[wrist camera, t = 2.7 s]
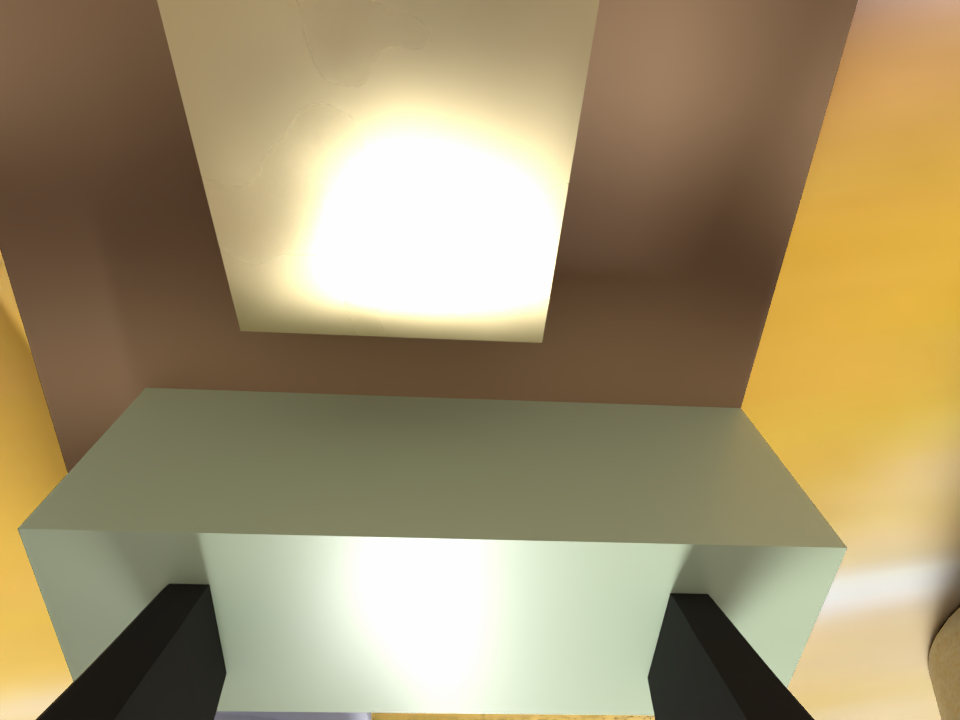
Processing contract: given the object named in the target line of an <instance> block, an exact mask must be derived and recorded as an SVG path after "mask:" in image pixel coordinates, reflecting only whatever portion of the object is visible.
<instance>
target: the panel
mask: <svg viewBox="0 0 960 720" xmlns="http://www.w3.org/2000/svg"><path fill="white" fill-rule="evenodd" d="M857 1H858V0H600V1H599V7H598V13H597V19H596V24H595V30H594V36H593V42H592V48H591V54H590V60H589V66H588V72H587V78H586V84H585V90H584V96H583V102H582V108H581V114H580V120H579V126H578V132H577V138H576V144H575V150H574V155H573V161H572V167H571V173H570V179H569V185H568V191H567V197H566V203H565V209H564V215H563V221H562V227H561V233H560V239H559V245H558V251H557V257H556V263H555V269H554V275H553V281H552V286H551V292H550V298H549V304H548V310H547V316H546V322H545V328H544V334H543V340H542V343H532V342H506V341H481V340H455V339H429V338H404V337H378V336H353V335H327V334H301V333H276V332H250V331H240V327H239V323H238V319H237V315H236V311H235V307H234V303H233V299H232V295H231V291H230V287H229V283H228V279H227V275H226V271H225V267H224V263H223V259H222V255H221V251H220V248H219V244H218V240H217V236H216V232H215V228H214V224H213V220H212V216H211V212H210V208H209V204H208V200H207V196H206V192H205V188H204V184H203V180H202V176H201V172H200V168H199V164H198V161H197V157H196V153H195V149H194V145H193V141H192V137H191V133H190V129H189V125H188V121H187V117H186V113H185V109H184V105H183V101H182V97H181V93H180V89H179V85H178V81H177V77H176V73H175V70H174V66H173V62H172V58H171V54H170V50H169V46H168V42H167V38H166V34H165V30H164V26H163V22H162V18H161V14H160V10H159V6H158V2H157V0H0V250H1V253H2V256H3V260H4V263H5V266H6V269H7V273H8V276H9V279H10V283H11V286H12V289H13V293H14V296H15V299H16V303H17V306H18V309H19V313H20V316H21V319H22V323H23V326H24V329H25V332H26V336H27V339H28V342H29V346H30V349H31V352H32V356H33V359H34V362H35V366H36V369H37V372H38V376H39V379H40V382H41V386H42V389H43V392H44V395H45V399H46V402H47V405H48V409H49V412H50V415H51V419H52V422H53V425H54V429H55V432H56V435H57V439H58V442H59V445H60V449H61V452H62V455H63V458H64V462H65V465H66V468H67V472H68V473H69V472H70V471H71V470H72V468H73V467H74V466H75V465H76V464H77V463H78V462H79V461H80V460H81V459H82V457H83V456H84V455H85V454H86V453H87V452H88V451H89V450H90V449H91V448H92V446H93V445H94V444H95V443H96V442H97V441H98V440H99V439H100V438H101V437H102V435H103V434H104V433H105V432H106V431H107V430H108V429H109V428H110V427H111V426H112V424H113V423H114V422H115V421H116V420H117V419H118V418H119V417H120V416H121V414H122V413H123V412H124V411H125V410H126V409H127V408H128V407H129V406H130V405H131V403H132V402H133V401H134V400H135V399H136V398H137V397H138V396H139V395H140V394H141V392H142V391H143V390H144V389H145V388H170V389H199V390H228V391H258V392H287V393H316V394H345V395H374V396H403V397H432V398H461V399H491V400H520V401H549V402H578V403H607V404H636V405H665V406H694V407H724V408H741V405H742V402H743V398H744V395H745V391H746V388H747V384H748V381H749V377H750V374H751V370H752V367H753V363H754V360H755V356H756V353H757V349H758V346H759V342H760V339H761V335H762V332H763V329H764V325H765V322H766V318H767V315H768V311H769V308H770V304H771V301H772V297H773V294H774V290H775V287H776V283H777V280H778V276H779V273H780V269H781V266H782V262H783V259H784V255H785V252H786V248H787V245H788V241H789V238H790V234H791V231H792V228H793V224H794V221H795V217H796V214H797V210H798V207H799V203H800V200H801V196H802V193H803V189H804V186H805V182H806V179H807V175H808V172H809V168H810V165H811V161H812V158H813V154H814V151H815V147H816V144H817V140H818V137H819V134H820V130H821V127H822V123H823V120H824V116H825V113H826V109H827V106H828V102H829V99H830V95H831V92H832V88H833V85H834V81H835V78H836V74H837V71H838V67H839V64H840V60H841V57H842V53H843V50H844V46H845V43H846V39H847V36H848V33H849V29H850V26H851V22H852V19H853V15H854V12H855V8H856V5H857Z"/></svg>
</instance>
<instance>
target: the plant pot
mask: <svg viewBox="0 0 960 720" xmlns="http://www.w3.org/2000/svg"><path fill="white" fill-rule="evenodd" d="M929 674H930V678H931V682H932V686H933V689H934V693H935V697H936V701H937V704H938V708H939V712H940V715H941V719H942V720H960V607H959V608H958V609H957V610H956V611H955V612H954V613H953V614H952V615H951V616H950V617H949V618H948V620H947V621H946V622H945V624H944V625H943V627H942V628H941V630H940V631H939V632H938V634H937V635H936V637H935V639H934V642H933V644H932V646H931V649H930V653H929Z"/></svg>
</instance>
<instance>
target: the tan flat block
mask: <svg viewBox="0 0 960 720" xmlns="http://www.w3.org/2000/svg"><path fill="white" fill-rule="evenodd" d="M599 1H600V0H157V2H158V6H159V10H160V14H161V18H162V22H163V26H164V30H165V34H166V38H167V42H168V46H169V50H170V54H171V58H172V62H173V66H174V70H175V73H176V77H177V81H178V85H179V89H180V93H181V97H182V101H183V105H184V109H185V113H186V117H187V121H188V125H189V129H190V133H191V137H192V141H193V145H194V149H195V153H196V157H197V161H198V164H199V168H200V172H201V176H202V180H203V184H204V188H205V192H206V196H207V200H208V204H209V208H210V212H211V216H212V220H213V224H214V228H215V232H216V236H217V240H218V244H219V248H220V251H221V255H222V259H223V263H224V267H225V271H226V275H227V279H228V283H229V287H230V291H231V295H232V299H233V303H234V307H235V311H236V315H237V319H238V323H239V327H240V331H250V332H276V333H301V334H327V335H353V336H378V337H404V338H429V339H455V340H481V341H506V342H532V343H542V340H543V334H544V328H545V322H546V316H547V310H548V304H549V298H550V292H551V286H552V281H553V275H554V269H555V263H556V257H557V251H558V245H559V239H560V233H561V227H562V221H563V215H564V209H565V203H566V197H567V191H568V185H569V179H570V173H571V167H572V161H573V155H574V150H575V144H576V138H577V132H578V126H579V120H580V114H581V108H582V102H583V96H584V90H585V84H586V78H587V72H588V66H589V60H590V54H591V48H592V42H593V36H594V30H595V24H596V19H597V13H598V7H599Z"/></svg>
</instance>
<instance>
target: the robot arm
mask: <svg viewBox="0 0 960 720" xmlns="http://www.w3.org/2000/svg"><path fill="white" fill-rule="evenodd" d="M226 674H227V672H226V667H225V662H224V657H223V652H222V647H221V641H220V636H219V631H218V626H217V621H216V615H215V610H214V605H213V600H212V595H211V590H210V584H168V585H167V586H166V587H165V588H163V589H162V590H161V591H160V592H159V594H158V595H157V596H156V597H155V598H154V599H153V600H152V601H151V602H150V603H149V604H148V605H147V606H146V607H145V608H144V609H143V610H142V611H141V612H140V614H139V615H138V616H137V617H136V618H135V619H134V620H133V621H132V622H131V623H130V624H129V625H128V626H127V627H126V628H125V629H124V630H123V632H122V633H121V634H120V635H119V636H118V637H117V638H116V639H115V640H114V641H113V642H112V643H111V644H110V645H109V646H108V647H107V648H106V649H105V650H104V651H103V652H102V653H101V654H100V655H99V657H98V658H97V659H96V660H95V661H94V662H93V663H92V664H91V665H90V666H89V667H88V668H87V669H86V670H85V671H84V672H83V673H82V674H81V675H80V676H79V677H78V678H77V679H76V680H75V681H74V682H73V683H72V684H71V685H70V686H69V687H68V688H67V689H66V690H65V691H64V692H63V693H62V694H61V695H60V696H59V697H58V698H57V699H56V700H55V701H54V702H53V703H52V704H51V705H50V706H49V707H48V708H47V709H46V710H45V711H44V712H43V713H42V714H41V715H40V716H39V717H38V718H37V719H36V720H372V717H371V713H351V712H241V711H217V707H218V704H219V700H220V696H221V692H222V689H223V685H224V681H225V677H226ZM647 679H648V684H649V689H650V694H651V700H652V705H653V710H654V715H655V720H814V719H813V718H812V716H811V715H810V714H809V713H808V712H807V711H806V710H805V708H804V707H803V706H802V705H801V704H800V703H799V702H798V701H797V699H796V698H795V697H794V696H793V695H792V694H791V693H790V691H789V690H788V689H787V688H786V687H785V686H784V684H783V683H782V682H781V681H780V680H779V679H778V677H777V676H776V675H775V674H774V673H773V671H772V670H771V669H770V668H769V667H768V665H767V664H766V663H765V662H764V661H763V659H762V658H761V657H760V656H759V655H758V653H757V652H756V651H755V650H754V649H753V647H752V646H751V645H750V644H749V643H748V641H747V640H746V639H745V638H744V637H743V635H742V634H741V633H740V632H739V630H738V629H737V628H736V627H735V626H734V624H733V623H732V622H731V621H730V620H729V618H728V617H727V616H726V615H725V613H724V612H723V611H722V610H721V609H720V607H719V606H718V605H717V604H716V603H715V601H714V600H713V599H712V598H711V597H710V596H709V595H708V594H689V593H670V596H669V600H668V604H667V607H666V611H665V615H664V618H663V622H662V626H661V629H660V633H659V637H658V641H657V644H656V648H655V652H654V655H653V659H652V663H651V667H650V670H649V674H648V678H647Z"/></svg>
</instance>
